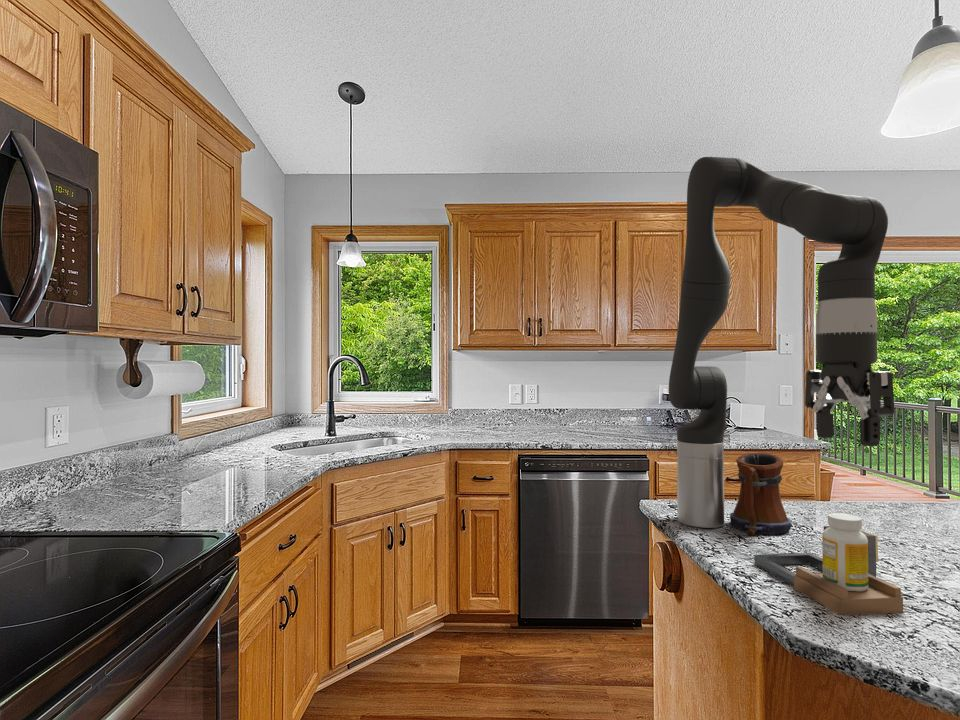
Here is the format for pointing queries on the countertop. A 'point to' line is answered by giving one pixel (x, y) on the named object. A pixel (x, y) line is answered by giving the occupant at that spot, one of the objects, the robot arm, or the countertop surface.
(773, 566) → the socket collar
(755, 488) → the mug
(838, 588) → the wooden tray
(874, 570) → the block
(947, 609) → the countertop surface
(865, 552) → the supplement bottle
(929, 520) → the countertop surface
